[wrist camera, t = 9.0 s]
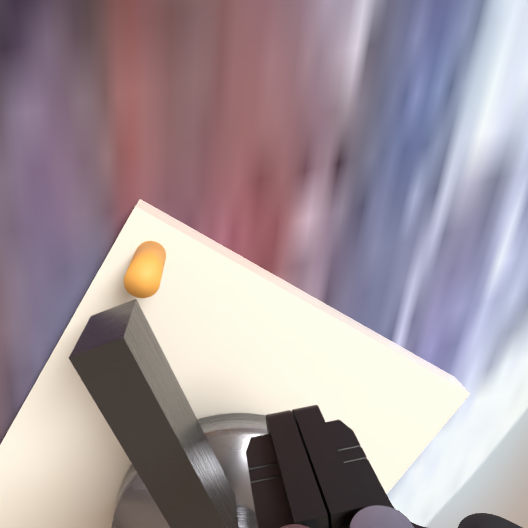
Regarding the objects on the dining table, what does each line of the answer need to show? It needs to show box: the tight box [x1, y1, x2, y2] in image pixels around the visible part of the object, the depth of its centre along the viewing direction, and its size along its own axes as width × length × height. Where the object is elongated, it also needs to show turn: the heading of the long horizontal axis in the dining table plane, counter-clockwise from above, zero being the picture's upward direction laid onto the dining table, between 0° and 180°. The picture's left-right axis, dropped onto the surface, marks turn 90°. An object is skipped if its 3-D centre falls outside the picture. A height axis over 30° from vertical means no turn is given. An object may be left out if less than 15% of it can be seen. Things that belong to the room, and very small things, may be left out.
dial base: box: [0, 199, 470, 528], centre depth 21 cm, size 22×18×4 cm
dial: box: [69, 299, 268, 528], centre depth 19 cm, size 18×11×4 cm, turn 19°
